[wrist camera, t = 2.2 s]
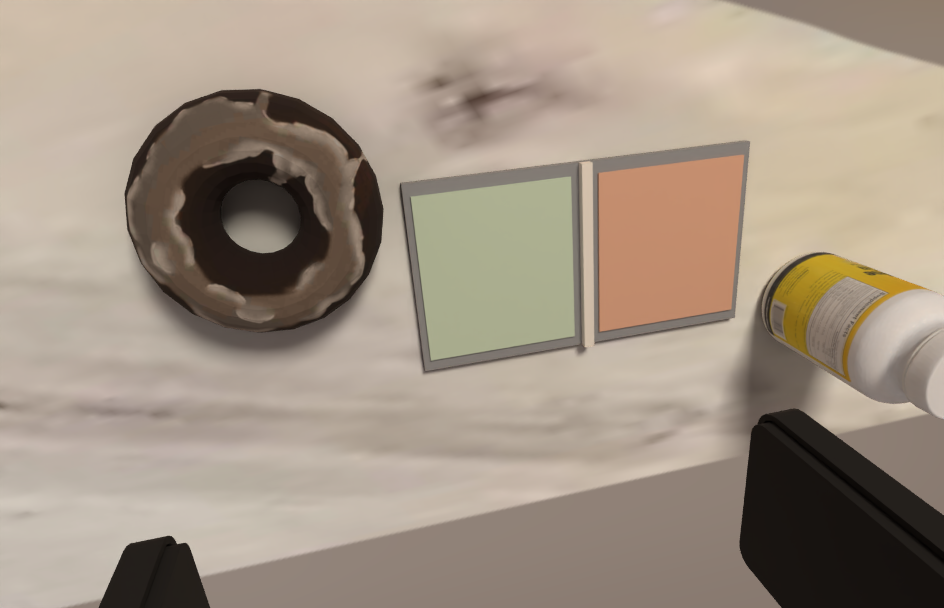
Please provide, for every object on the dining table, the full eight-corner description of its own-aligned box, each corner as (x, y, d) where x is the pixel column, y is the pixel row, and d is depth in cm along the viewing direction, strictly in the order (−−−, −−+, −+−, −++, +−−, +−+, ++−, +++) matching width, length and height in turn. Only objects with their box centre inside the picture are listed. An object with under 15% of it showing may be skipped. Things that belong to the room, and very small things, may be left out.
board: (745, 140, 35) (755, 142, 34) (730, 315, 39) (739, 320, 38) (400, 183, 32) (402, 186, 31) (424, 368, 36) (426, 375, 35)
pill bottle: (854, 309, 41) (1034, 393, 30) (771, 358, 41) (922, 459, 30) (831, 229, 38) (1020, 291, 28) (743, 282, 38) (898, 364, 28)
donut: (389, 303, 34) (395, 331, 31) (166, 324, 32) (144, 357, 29) (371, 84, 30) (376, 86, 26) (113, 92, 28) (79, 96, 24)
